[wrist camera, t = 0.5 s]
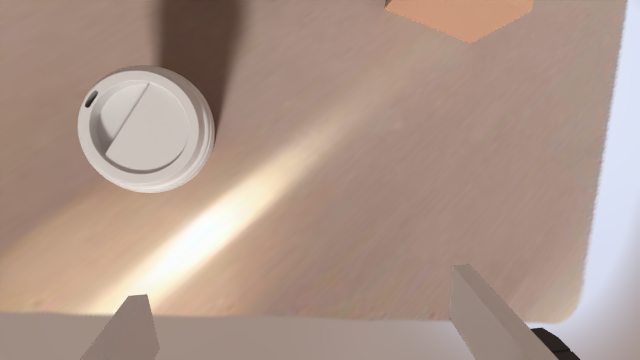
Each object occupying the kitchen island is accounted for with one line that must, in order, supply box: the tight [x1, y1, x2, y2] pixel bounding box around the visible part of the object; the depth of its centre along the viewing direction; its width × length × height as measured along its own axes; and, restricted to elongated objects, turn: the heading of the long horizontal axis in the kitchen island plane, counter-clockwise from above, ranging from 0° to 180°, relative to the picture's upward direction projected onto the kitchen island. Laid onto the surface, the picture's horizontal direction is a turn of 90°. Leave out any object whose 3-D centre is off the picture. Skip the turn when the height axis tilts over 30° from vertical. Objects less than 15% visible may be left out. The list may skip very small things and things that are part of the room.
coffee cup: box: [78, 65, 215, 193], centre depth 32 cm, size 10×10×15 cm
